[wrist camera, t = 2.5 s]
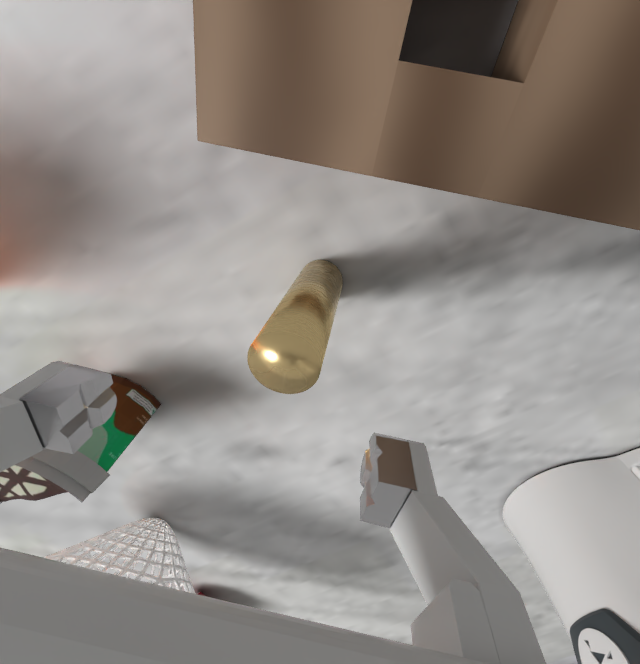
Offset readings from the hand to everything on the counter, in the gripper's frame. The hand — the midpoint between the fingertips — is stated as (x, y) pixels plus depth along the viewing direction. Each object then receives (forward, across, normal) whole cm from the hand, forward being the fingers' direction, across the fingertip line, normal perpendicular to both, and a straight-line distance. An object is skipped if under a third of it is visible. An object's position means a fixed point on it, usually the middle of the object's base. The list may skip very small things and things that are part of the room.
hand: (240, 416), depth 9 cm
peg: (+13, -1, 0) cm, 13 cm away
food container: (+14, +18, +16) cm, 28 cm away
